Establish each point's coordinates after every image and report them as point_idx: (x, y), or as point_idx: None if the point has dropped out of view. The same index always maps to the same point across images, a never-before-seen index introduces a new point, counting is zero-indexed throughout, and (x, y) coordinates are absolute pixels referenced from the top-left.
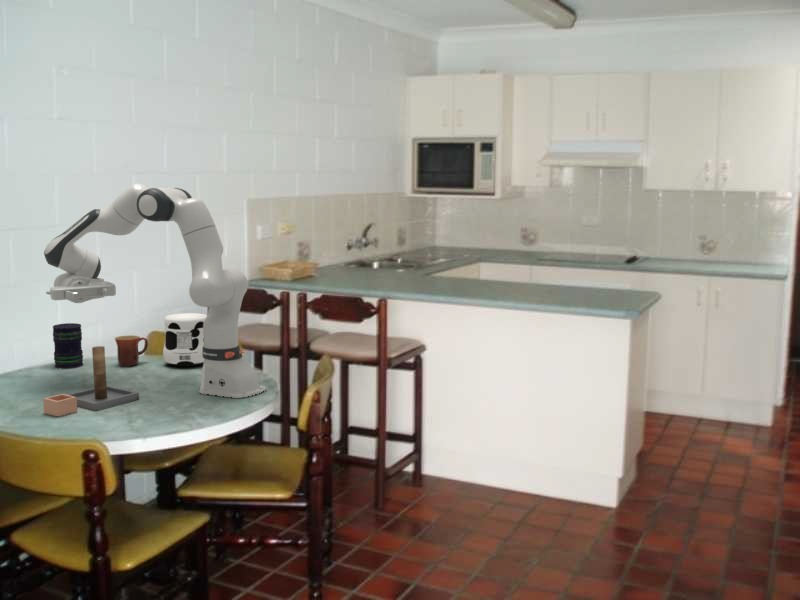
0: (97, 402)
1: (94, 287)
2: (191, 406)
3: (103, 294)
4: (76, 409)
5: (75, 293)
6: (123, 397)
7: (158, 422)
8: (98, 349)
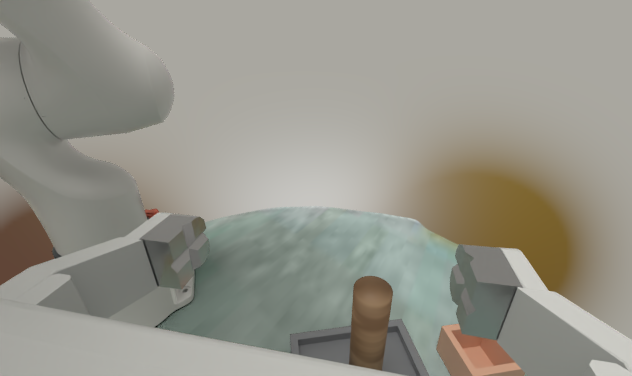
0: (394, 324)
1: (105, 321)
2: (264, 259)
3: (202, 241)
4: (438, 345)
5: (476, 247)
6: (331, 330)
7: (343, 236)
8: (378, 279)
